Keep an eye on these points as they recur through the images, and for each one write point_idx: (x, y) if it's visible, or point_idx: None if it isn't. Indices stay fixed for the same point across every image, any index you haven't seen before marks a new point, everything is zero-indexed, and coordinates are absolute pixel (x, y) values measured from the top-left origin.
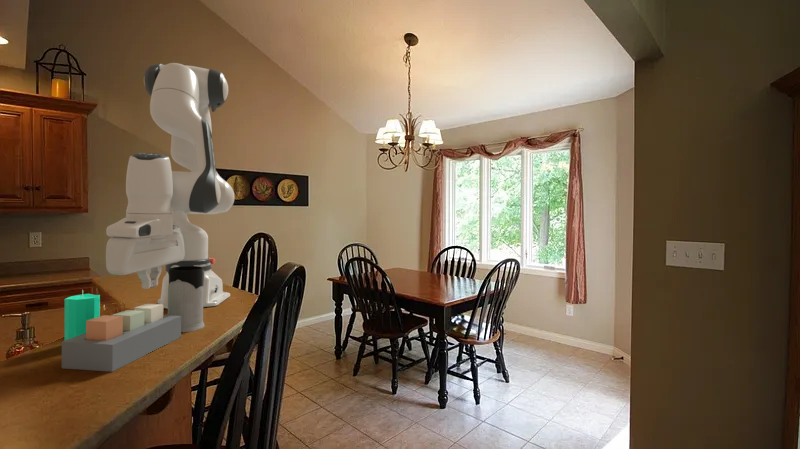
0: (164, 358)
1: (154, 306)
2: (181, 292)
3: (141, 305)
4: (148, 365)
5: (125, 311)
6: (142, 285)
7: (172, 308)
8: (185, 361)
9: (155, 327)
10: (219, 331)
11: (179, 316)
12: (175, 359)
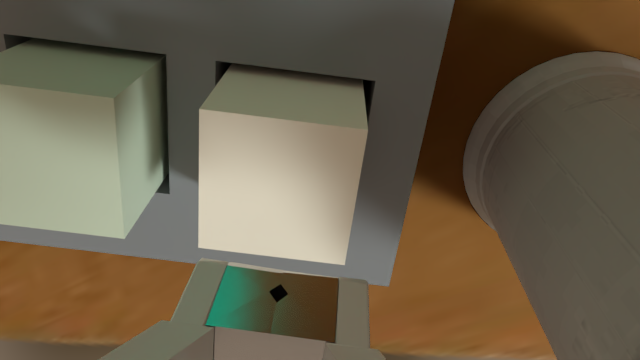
0: (104, 264)
1: (268, 238)
2: (562, 349)
3: (288, 126)
4: (24, 244)
5: (66, 118)
6: (190, 284)
7: (533, 196)
8: (97, 337)
9: (144, 255)
10: (471, 330)
11: (376, 282)
12: (105, 302)
